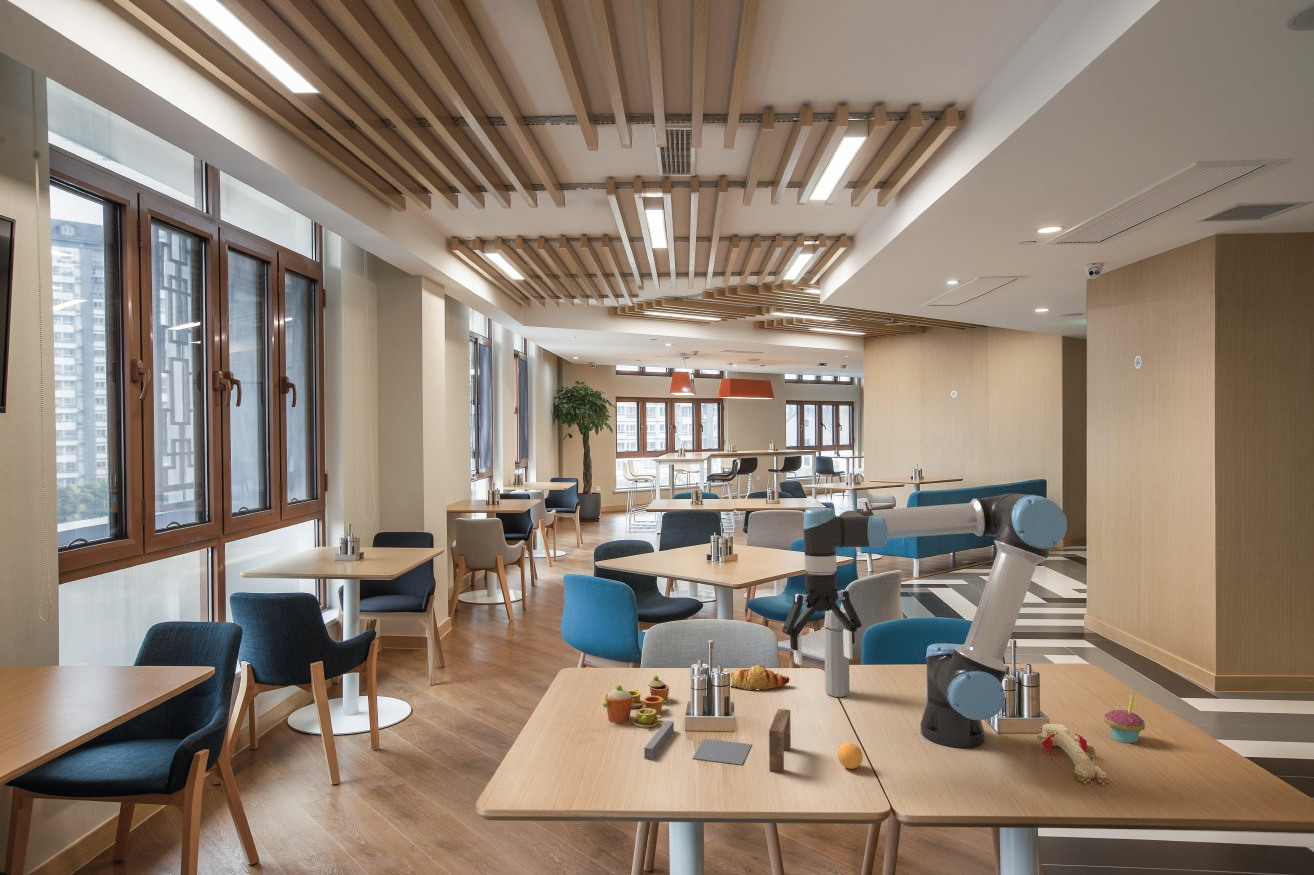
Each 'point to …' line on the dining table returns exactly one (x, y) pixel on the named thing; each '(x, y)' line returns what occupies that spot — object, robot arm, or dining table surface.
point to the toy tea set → (637, 704)
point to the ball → (850, 755)
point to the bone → (1073, 752)
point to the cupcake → (1125, 724)
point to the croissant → (758, 678)
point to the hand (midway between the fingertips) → (823, 660)
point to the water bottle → (835, 657)
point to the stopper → (658, 740)
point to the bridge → (779, 740)
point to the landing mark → (722, 751)
